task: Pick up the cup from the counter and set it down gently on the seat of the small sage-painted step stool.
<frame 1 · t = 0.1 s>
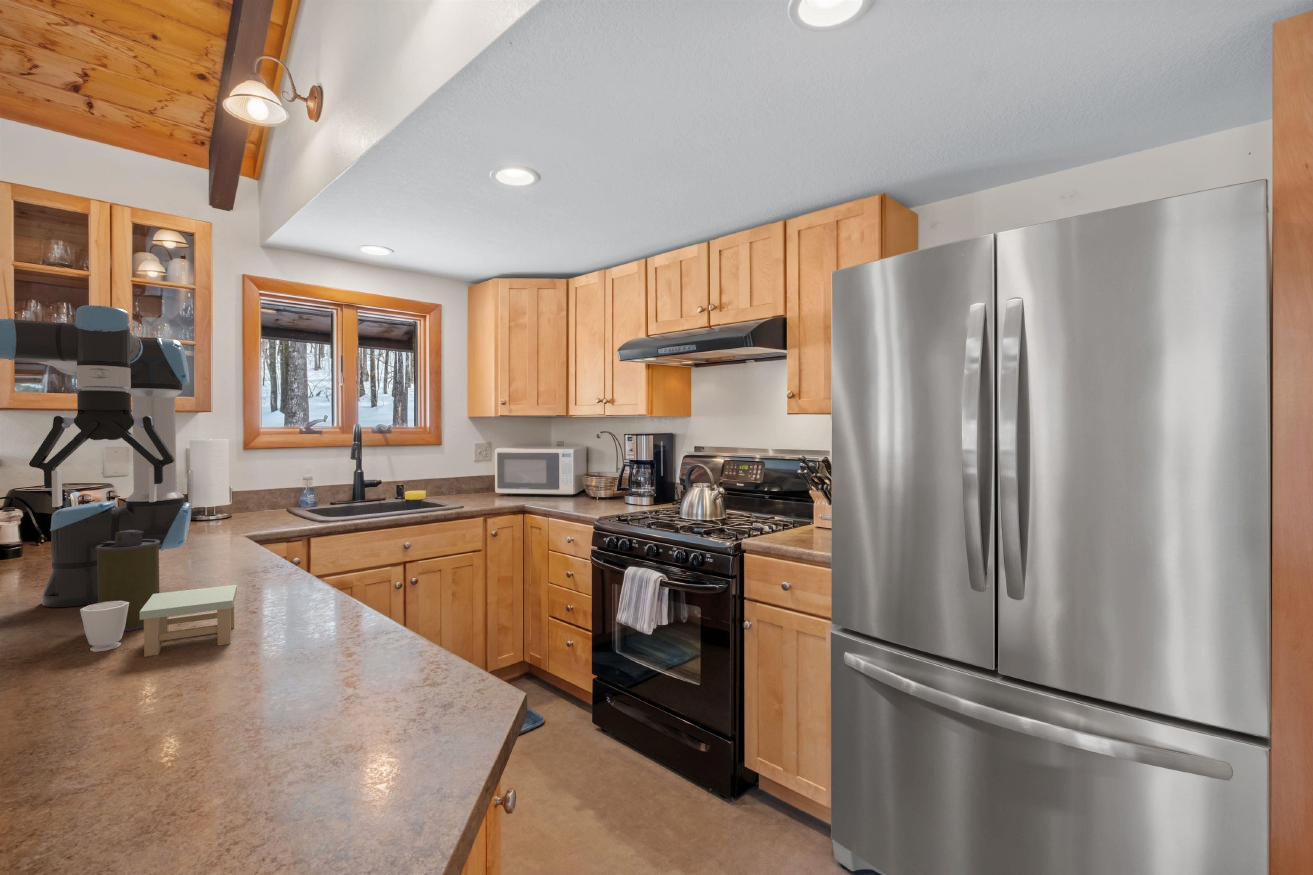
hand: (106, 503, 116), 28 cm above the countertop, fingers open, 13 cm apart
cup: (105, 646, 120), on the countertop
stool: (192, 639, 123), on the countertop
canister: (129, 625, 132), on the countertop
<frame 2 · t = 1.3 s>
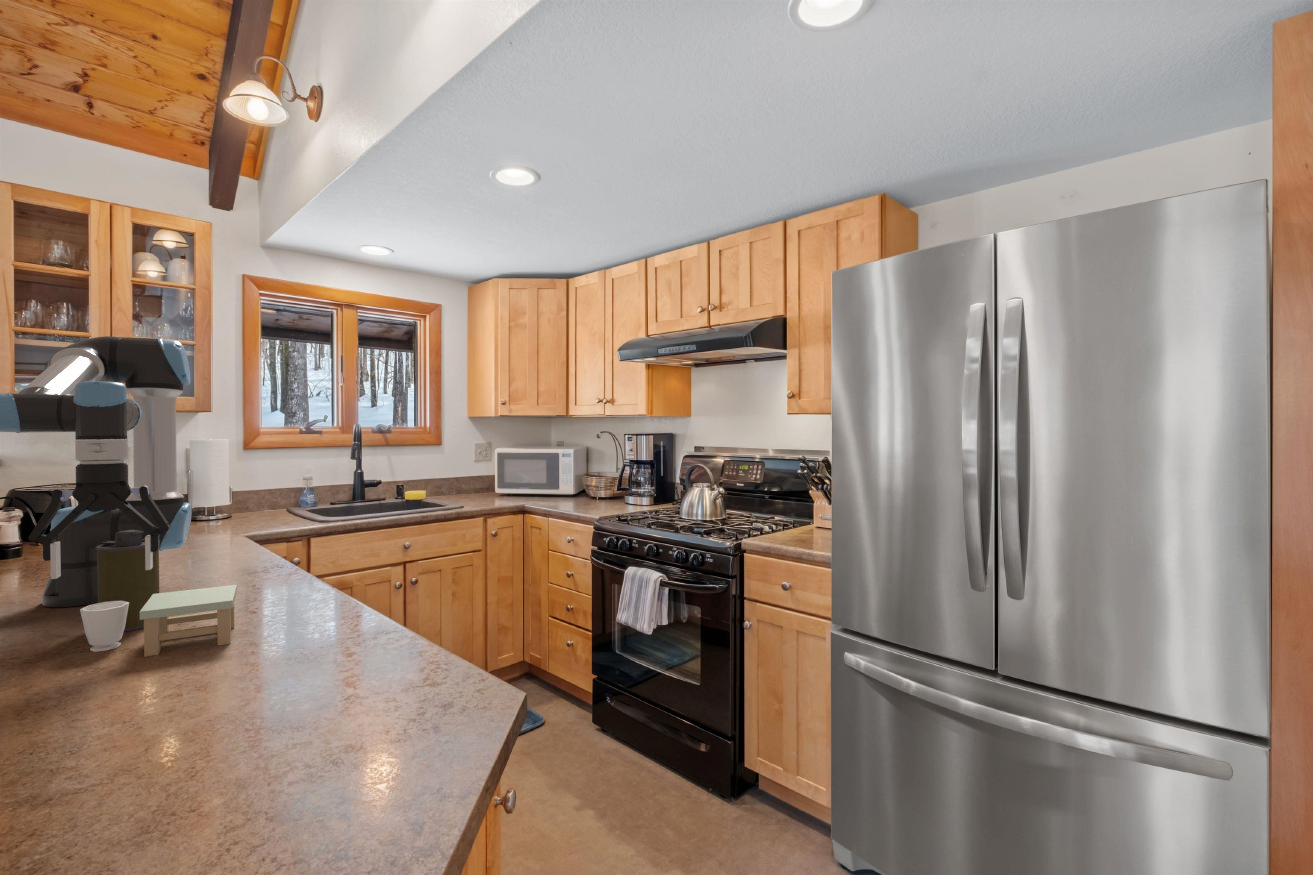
hand: (103, 573, 119), 14 cm above the countertop, fingers open, 13 cm apart
nothing on the countertop moved.
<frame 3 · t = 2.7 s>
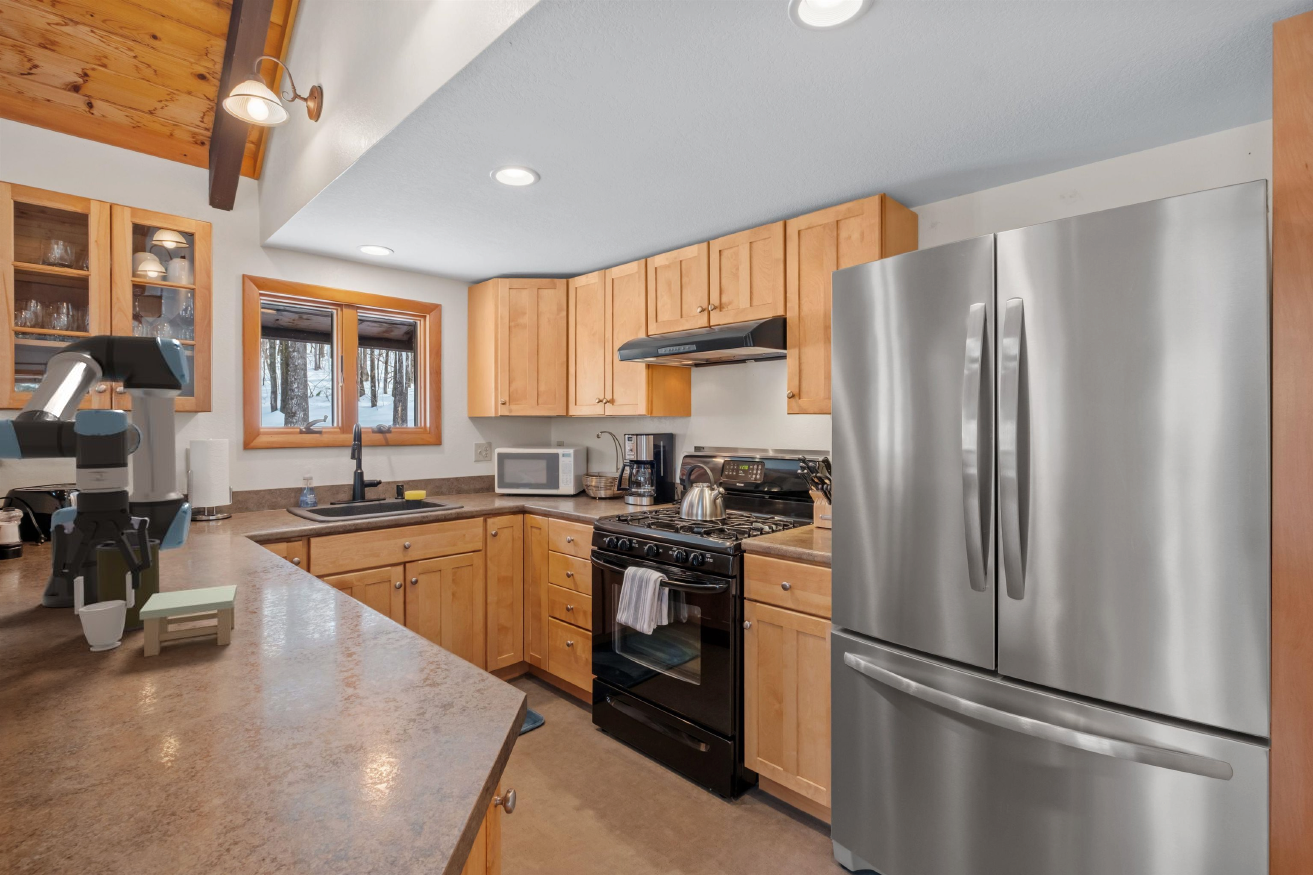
hand: (105, 608, 120), 7 cm above the countertop, fingers closed on cup, 7 cm apart
cup: (105, 646, 120), on the countertop, touching gripper
everything else where it was.
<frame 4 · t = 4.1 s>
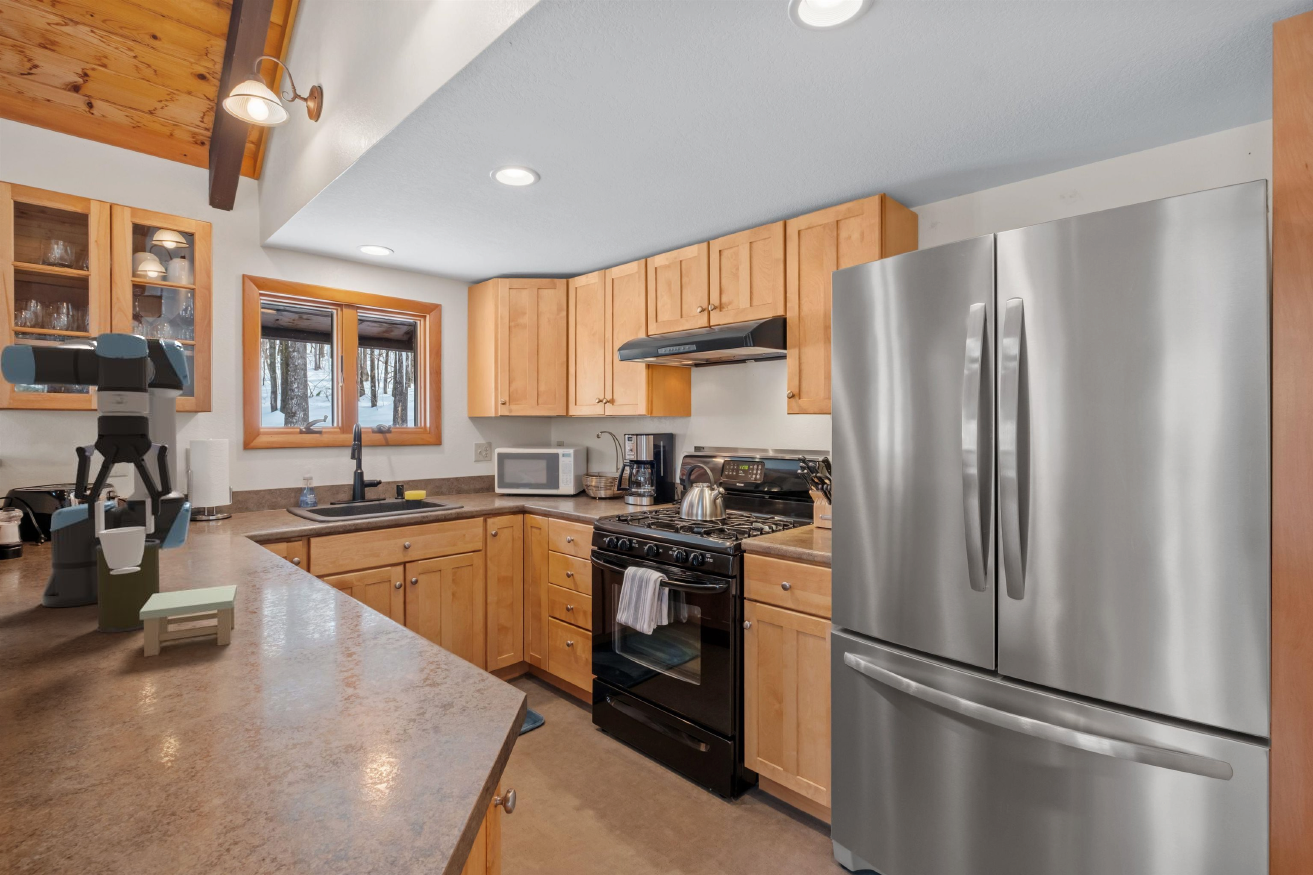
hand: (125, 533, 120), 21 cm above the countertop, fingers closed on cup, 7 cm apart
cup: (125, 571, 120), point 14 cm above the countertop, touching gripper
everything else where it was.
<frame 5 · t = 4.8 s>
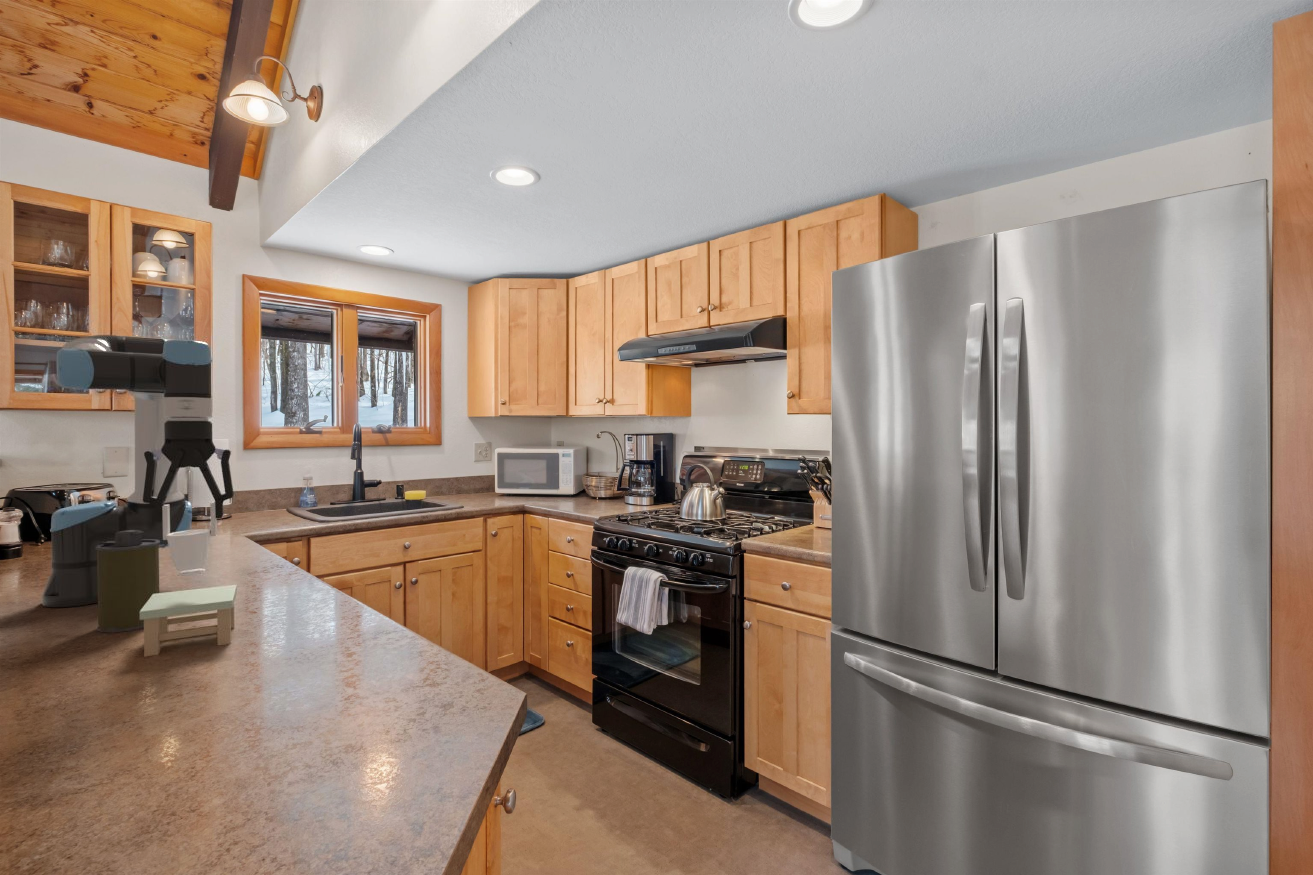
hand: (190, 536, 122), 20 cm above the countertop, fingers closed on cup, 7 cm apart
cup: (190, 573, 122), point 13 cm above the countertop, touching gripper
everything else where it was.
when the fingers open (17 cm above the countertop, at t = 5.6 s): cup drops 2 cm, resting on stool.
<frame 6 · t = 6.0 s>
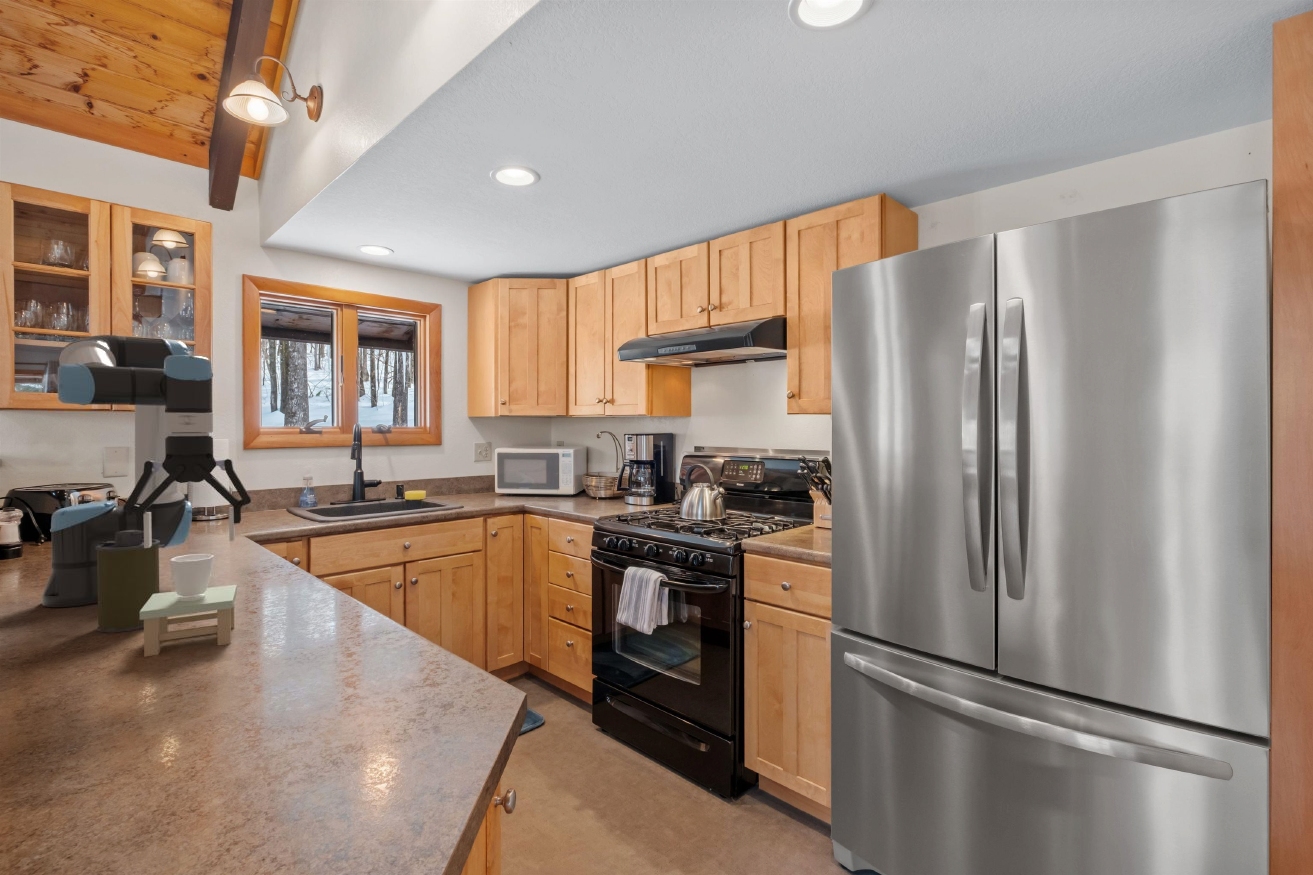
hand: (191, 543, 122), 19 cm above the countertop, fingers open, 13 cm apart
cup: (190, 597, 122), point 8 cm above the countertop, touching stool
everything else where it was.
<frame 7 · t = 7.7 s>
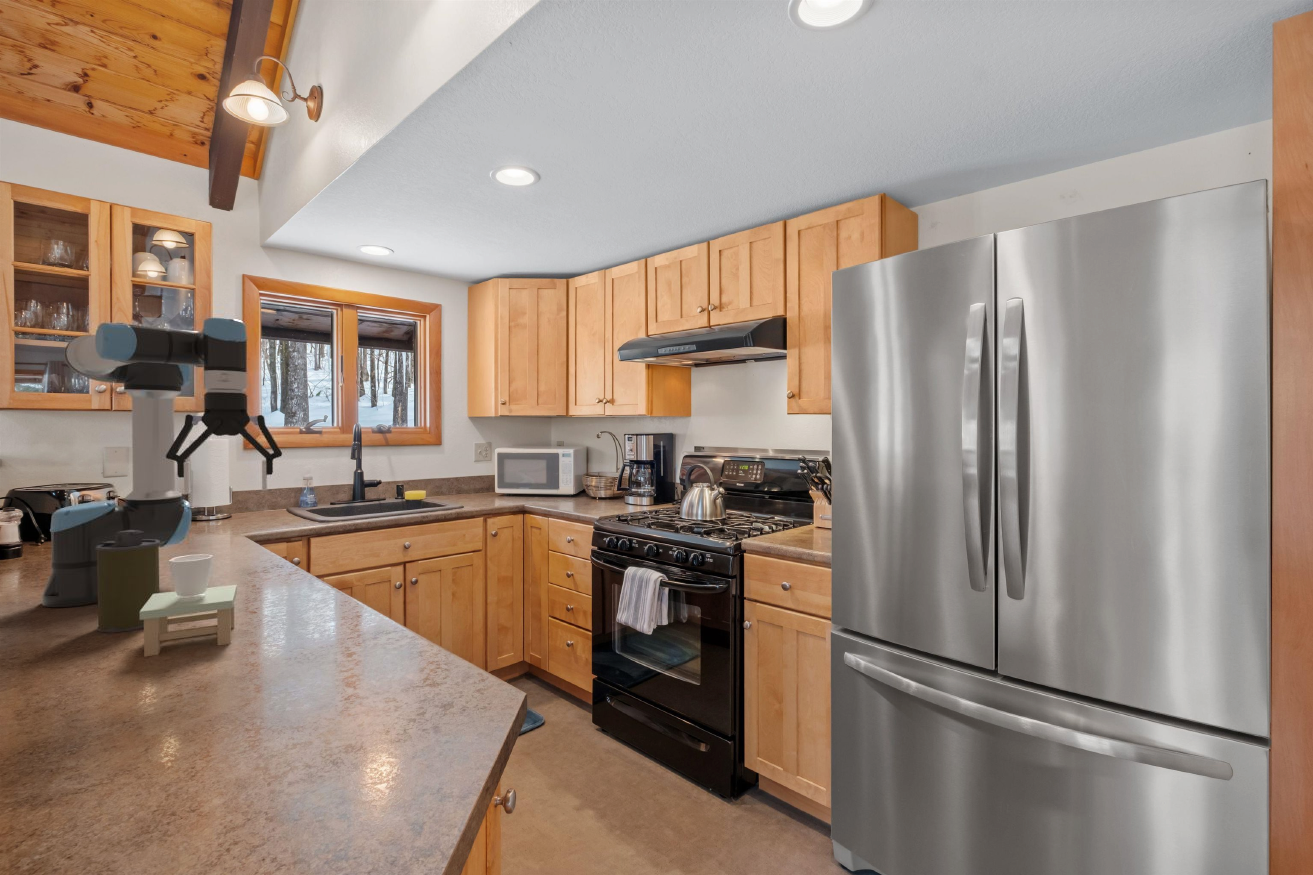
hand: (227, 491, 133), 28 cm above the countertop, fingers open, 13 cm apart
nothing on the countertop moved.
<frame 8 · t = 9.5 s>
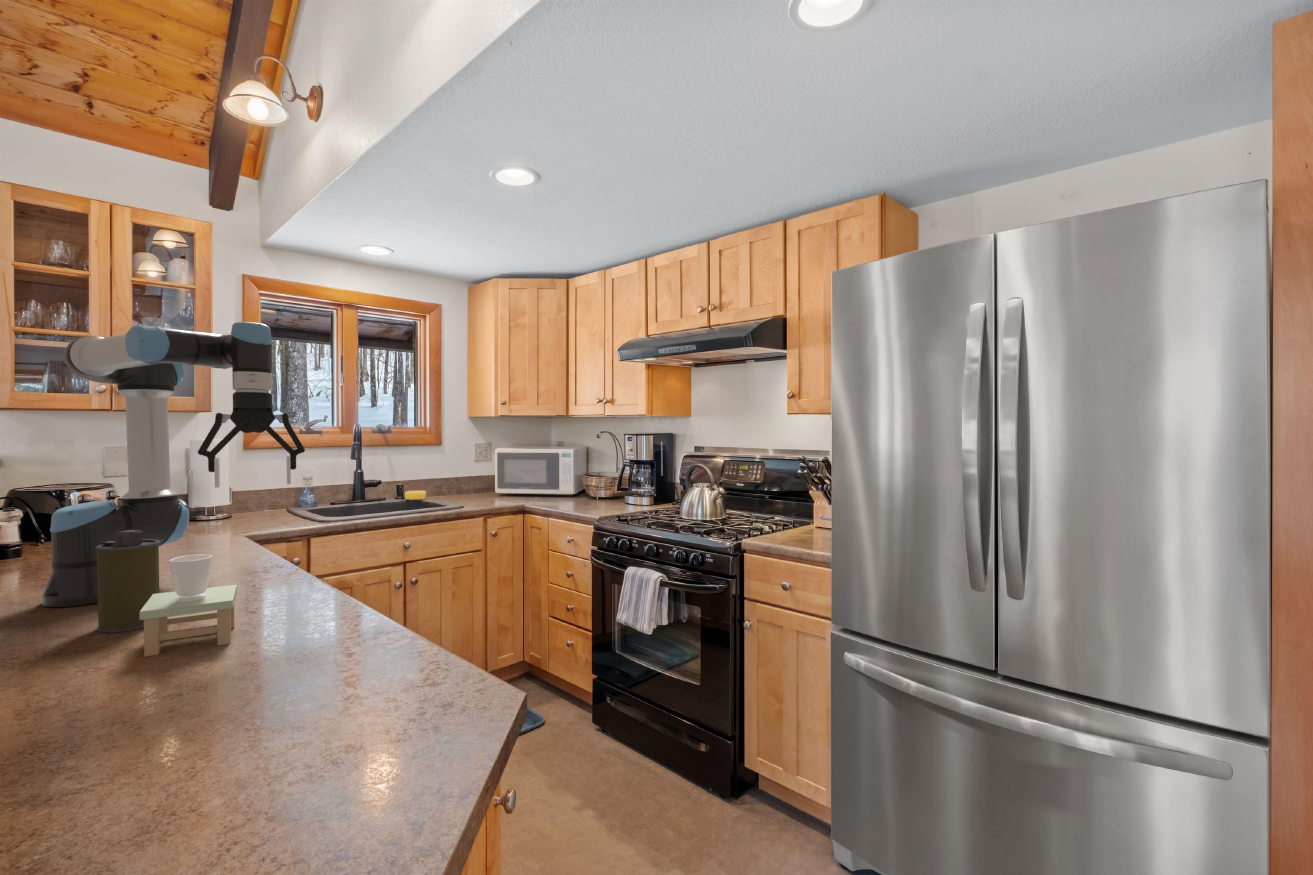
hand: (253, 485, 141), 29 cm above the countertop, fingers open, 13 cm apart
nothing on the countertop moved.
at the end: cup inside the target area on the stool (0.2 cm from its centre), point 8.3 cm above the stool's base; cup tilted 0°; the gripper is holding nothing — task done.
